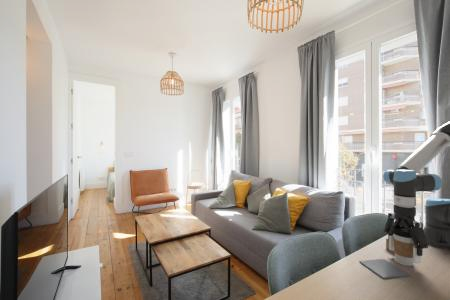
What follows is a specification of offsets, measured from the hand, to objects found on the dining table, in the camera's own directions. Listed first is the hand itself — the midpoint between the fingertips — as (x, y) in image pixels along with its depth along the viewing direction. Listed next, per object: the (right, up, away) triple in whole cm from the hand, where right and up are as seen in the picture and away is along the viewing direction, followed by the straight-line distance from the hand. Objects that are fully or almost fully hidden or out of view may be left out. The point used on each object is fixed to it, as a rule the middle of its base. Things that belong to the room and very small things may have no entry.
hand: (404, 255), depth 95 cm
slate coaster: (-12, -3, -5) cm, 14 cm away
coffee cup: (0, -3, 0) cm, 3 cm away
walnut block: (+5, -3, +11) cm, 12 cm away
